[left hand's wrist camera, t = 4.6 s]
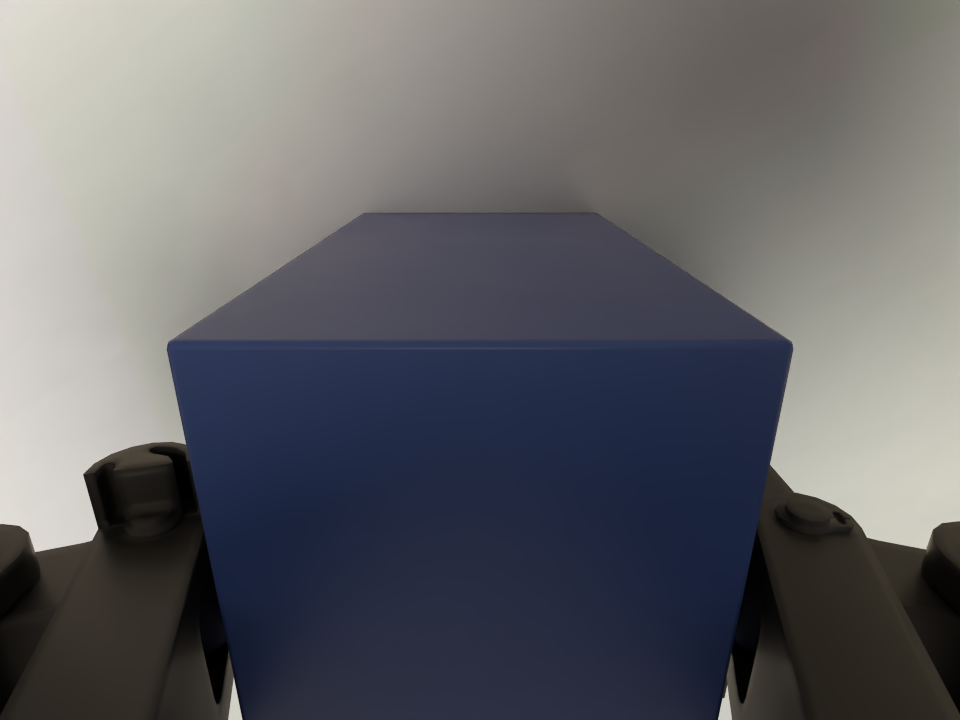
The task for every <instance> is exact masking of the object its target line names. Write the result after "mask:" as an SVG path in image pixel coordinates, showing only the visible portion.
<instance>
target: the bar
mask: <svg viewBox="0 0 960 720" xmlns="http://www.w3.org/2000/svg"><path fill="white" fill-rule="evenodd" d="M167 352H168V357H169V362H170V367H171V372H172V377H173V382H174V386H175V391H176V396H177V401H178V406H179V411H180V416H181V421H182V426H183V430H184V435H185V440H186V445H187V450H188V455H189V460H190V465H191V470H192V474H193V479H194V484H195V489H196V494H197V499H198V504H199V509H200V514H201V518H202V523H203V528H204V533H205V538H206V543H207V548H208V553H209V558H210V562H211V567H212V572H213V577H214V582H215V587H216V592H217V597H218V602H219V606H220V611H221V616H222V621H223V626H224V631H225V636H226V641H227V646H228V650H229V655H230V660H231V665H232V670H233V675H234V680H235V685H236V690H237V694H238V699H239V704H240V709H241V714H242V719H243V720H718V716H719V711H720V707H721V702H722V697H723V692H724V687H725V682H726V677H727V672H728V667H729V662H730V657H731V652H732V648H733V643H734V638H735V633H736V628H737V623H738V618H739V613H740V608H741V603H742V598H743V593H744V589H745V584H746V579H747V574H748V569H749V564H750V559H751V554H752V549H753V544H754V539H755V535H756V530H757V525H758V520H759V515H760V510H761V505H762V500H763V495H764V490H765V485H766V480H767V476H768V471H769V466H770V461H771V456H772V451H773V446H774V441H775V436H776V431H777V426H778V421H779V417H780V412H781V407H782V402H783V397H784V392H785V387H786V382H787V377H788V372H789V367H790V362H791V358H792V353H793V345H792V342H791V341H790V340H788V339H787V338H785V337H784V336H782V335H781V334H779V333H778V332H776V331H775V330H773V329H771V328H770V327H768V326H767V325H765V324H764V323H762V322H761V321H759V320H758V319H756V318H755V317H753V316H752V315H750V314H749V313H747V312H746V311H744V310H743V309H741V308H740V307H738V306H737V305H735V304H734V303H732V302H731V301H729V300H728V299H726V298H725V297H723V296H721V295H720V294H718V293H717V292H715V291H714V290H712V289H711V288H709V287H708V286H706V285H705V284H703V283H702V282H700V281H699V280H697V279H696V278H694V277H693V276H691V275H690V274H688V273H687V272H685V271H684V270H682V269H681V268H679V267H678V266H676V265H675V264H673V263H671V262H670V261H668V260H667V259H665V258H664V257H662V256H661V255H659V254H658V253H656V252H655V251H653V250H652V249H650V248H649V247H647V246H646V245H644V244H643V243H641V242H640V241H638V240H637V239H635V238H634V237H632V236H631V235H629V234H628V233H626V232H625V231H623V230H621V229H620V228H618V227H617V226H615V225H614V224H612V223H611V222H609V221H608V220H606V219H605V218H603V217H602V216H600V215H599V214H597V213H364V214H362V215H360V216H359V217H357V218H356V219H354V220H353V221H351V222H350V223H348V224H347V225H345V226H344V227H342V228H341V229H339V230H338V231H336V232H335V233H333V234H332V235H330V236H329V237H327V238H326V239H324V240H322V241H321V242H319V243H318V244H316V245H315V246H313V247H312V248H310V249H309V250H307V251H306V252H304V253H303V254H301V255H300V256H298V257H297V258H295V259H294V260H292V261H291V262H289V263H288V264H286V265H285V266H283V267H282V268H280V269H278V270H277V271H275V272H274V273H272V274H271V275H269V276H268V277H266V278H265V279H263V280H262V281H260V282H259V283H257V284H256V285H254V286H253V287H251V288H250V289H248V290H247V291H245V292H244V293H242V294H241V295H239V296H237V297H236V298H234V299H233V300H231V301H230V302H228V303H227V304H225V305H224V306H222V307H221V308H219V309H218V310H216V311H215V312H213V313H212V314H210V315H209V316H207V317H206V318H204V319H203V320H201V321H200V322H198V323H197V324H195V325H193V326H192V327H190V328H189V329H187V330H186V331H184V332H183V333H181V334H180V335H178V336H177V337H175V338H174V339H172V340H171V341H169V343H168V346H167Z"/></svg>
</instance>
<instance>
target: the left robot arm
mask: <svg viewBox="0 0 960 720" xmlns="http://www.w3.org/2000/svg"><path fill="white" fill-rule="evenodd" d="M83 475H84V479H85V482H86V486H87V489H88V493H89V497H90V500H91V504H92V507H93V511H94V514H95V518H96V521H97V525H98V531H97V533H96V535H95V536H94V538H93V540H92V541H90V542H86V543H81V544H76V545H71V546H66V547H60V548H55V549H50V550H45V551H40V552H35V551H34V548H33V545H32V542H31V539H30V536H29V533H28V532H27V531H26V530H24V529H23V528H21V527H20V526H15V525H6V524H0V720H228V716H229V708H230V701H231V693H232V685H233V678H234V675H233V670H232V665H231V660H230V655H229V650H228V646H227V641H226V636H225V631H224V626H223V621H222V616H221V611H220V606H219V602H218V597H217V592H216V587H215V582H214V577H213V572H212V567H211V562H210V558H209V553H208V548H207V543H206V538H205V533H204V528H203V523H202V518H201V514H200V509H199V504H198V499H197V494H196V489H195V484H194V479H193V474H192V470H191V465H190V460H189V455H188V450H187V445H185V444H180V443H175V442H161V443H150V444H145V445H139V446H134V447H131V448H128V449H125V450H122V451H119V452H116V453H113V454H111V455H109V456H107V457H106V458H104V459H102V460H100V461H98V462H97V463H95V464H93V465H92V466H91V467H90V468H89V469H88V470H87V471H86V472H85V473H84V474H83ZM727 685H728V692H729V699H730V707H731V714H732V720H960V521H958V522H950V523H942V524H941V525H939V526H938V527H936V528H935V529H933V531H932V534H931V537H930V540H929V543H928V546H927V549H926V550H925V549H919V548H914V547H909V546H904V545H899V544H893V543H888V542H883V541H878V540H874V539H870V538H867V537H866V535H865V533H864V532H863V530H862V528H861V527H860V526H859V524H858V523H857V522H856V521H855V520H854V519H853V517H852V516H850V515H849V514H847V513H846V512H844V511H843V510H841V509H840V508H838V507H837V506H835V505H833V504H830V503H828V502H826V501H823V500H821V499H818V498H816V497H812V496H808V495H803V494H799V493H794V492H793V491H792V489H791V488H790V487H789V486H788V485H787V484H786V483H785V481H784V480H783V479H782V478H781V477H780V476H779V475H778V474H777V472H776V471H775V470H774V469H773V468H772V467H771V466H769V471H768V476H767V480H766V485H765V490H764V495H763V500H762V505H761V510H760V515H759V520H758V525H757V530H756V535H755V539H754V544H753V549H752V554H751V559H750V564H749V569H748V574H747V579H746V584H745V589H744V593H743V598H742V603H741V608H740V613H739V618H738V623H737V628H736V633H735V638H734V643H733V648H732V652H731V657H730V662H729V667H728V672H727V677H726V682H725V687H724V692H723V697H722V698H724V697H725V692H726V688H727Z"/></svg>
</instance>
